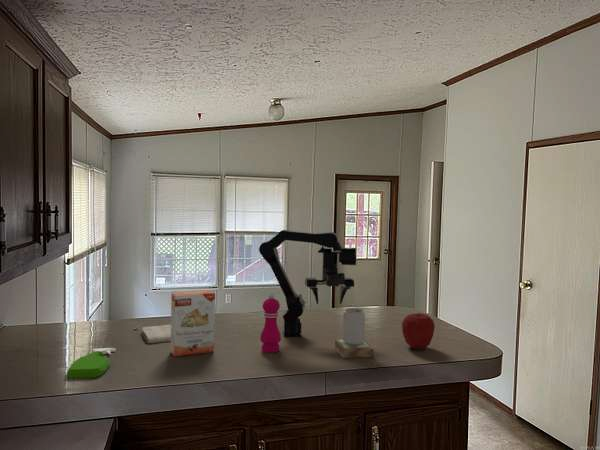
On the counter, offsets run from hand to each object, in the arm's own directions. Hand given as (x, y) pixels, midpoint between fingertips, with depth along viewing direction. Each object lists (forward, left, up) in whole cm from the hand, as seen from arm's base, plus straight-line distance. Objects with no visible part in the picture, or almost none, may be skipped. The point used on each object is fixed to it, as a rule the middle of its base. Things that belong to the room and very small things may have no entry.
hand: (328, 304), depth 184 cm
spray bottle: (-81, -24, -14) cm, 85 cm away
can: (+5, -20, -10) cm, 23 cm away
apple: (+30, -17, -13) cm, 37 cm away
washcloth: (-65, +6, -14) cm, 67 cm away
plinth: (+5, -20, -13) cm, 24 cm away
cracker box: (-51, -15, -13) cm, 55 cm away
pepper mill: (-24, -15, -13) cm, 31 cm away
